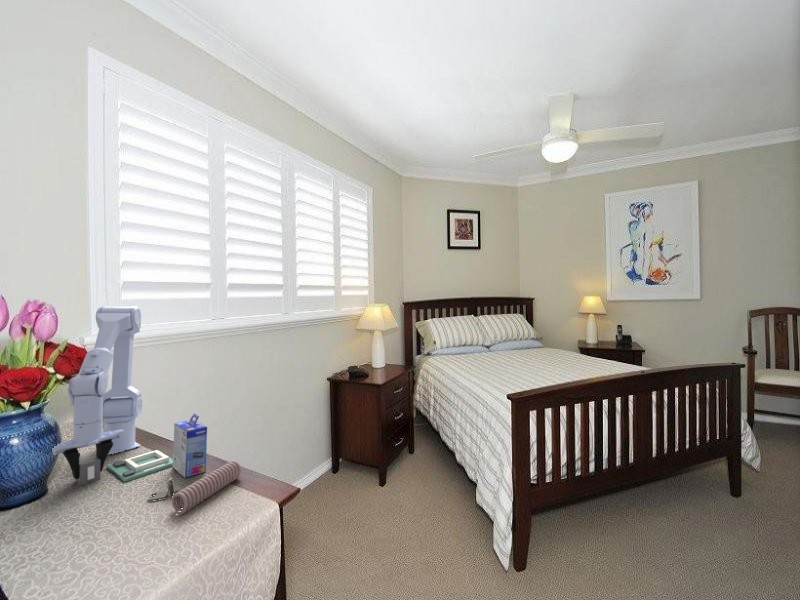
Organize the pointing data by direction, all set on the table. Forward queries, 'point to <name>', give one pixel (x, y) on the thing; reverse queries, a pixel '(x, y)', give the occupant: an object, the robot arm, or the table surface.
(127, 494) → the table surface
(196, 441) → the ink cartridge box
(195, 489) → the coil
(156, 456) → the board
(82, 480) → the plug
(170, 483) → the strap clip
